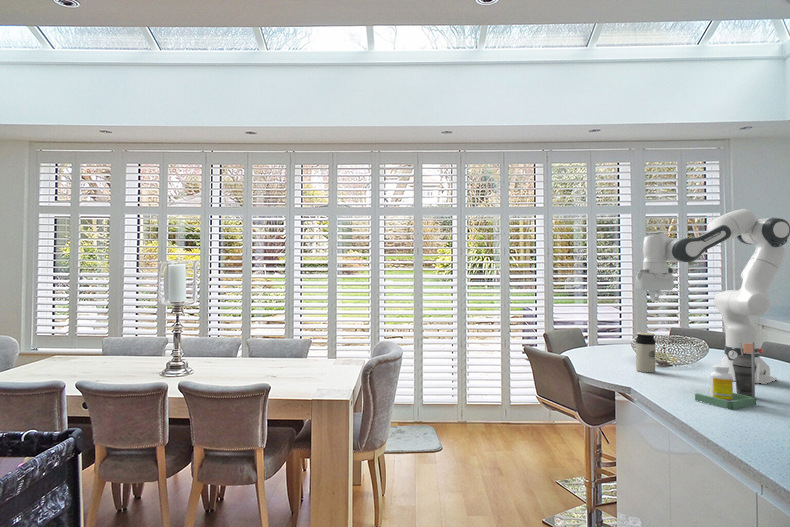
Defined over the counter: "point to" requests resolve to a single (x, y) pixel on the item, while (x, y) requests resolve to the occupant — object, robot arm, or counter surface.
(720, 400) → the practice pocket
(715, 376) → the supplement bottle
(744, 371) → the beverage cup
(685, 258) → the robot arm
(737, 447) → the counter surface
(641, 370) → the travel mug
